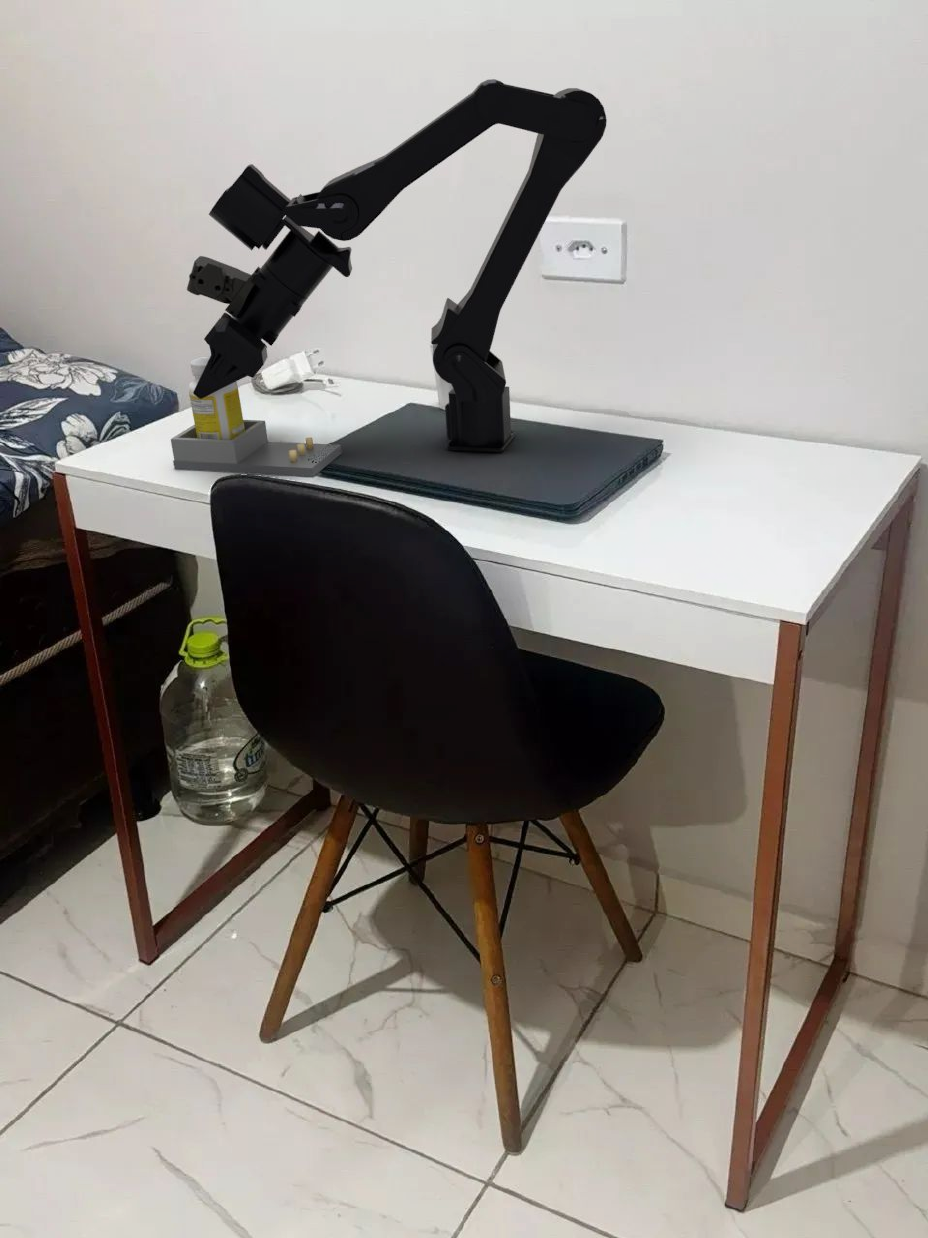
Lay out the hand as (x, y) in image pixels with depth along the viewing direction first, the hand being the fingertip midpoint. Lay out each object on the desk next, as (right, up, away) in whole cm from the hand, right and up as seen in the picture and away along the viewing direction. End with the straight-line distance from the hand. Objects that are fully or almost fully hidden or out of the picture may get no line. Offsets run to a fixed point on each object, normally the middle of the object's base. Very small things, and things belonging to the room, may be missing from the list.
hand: (201, 388), depth 131 cm
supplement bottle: (+2, -6, +3) cm, 7 cm away
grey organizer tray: (+6, -8, +2) cm, 10 cm away
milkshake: (+28, +1, +18) cm, 33 cm away
